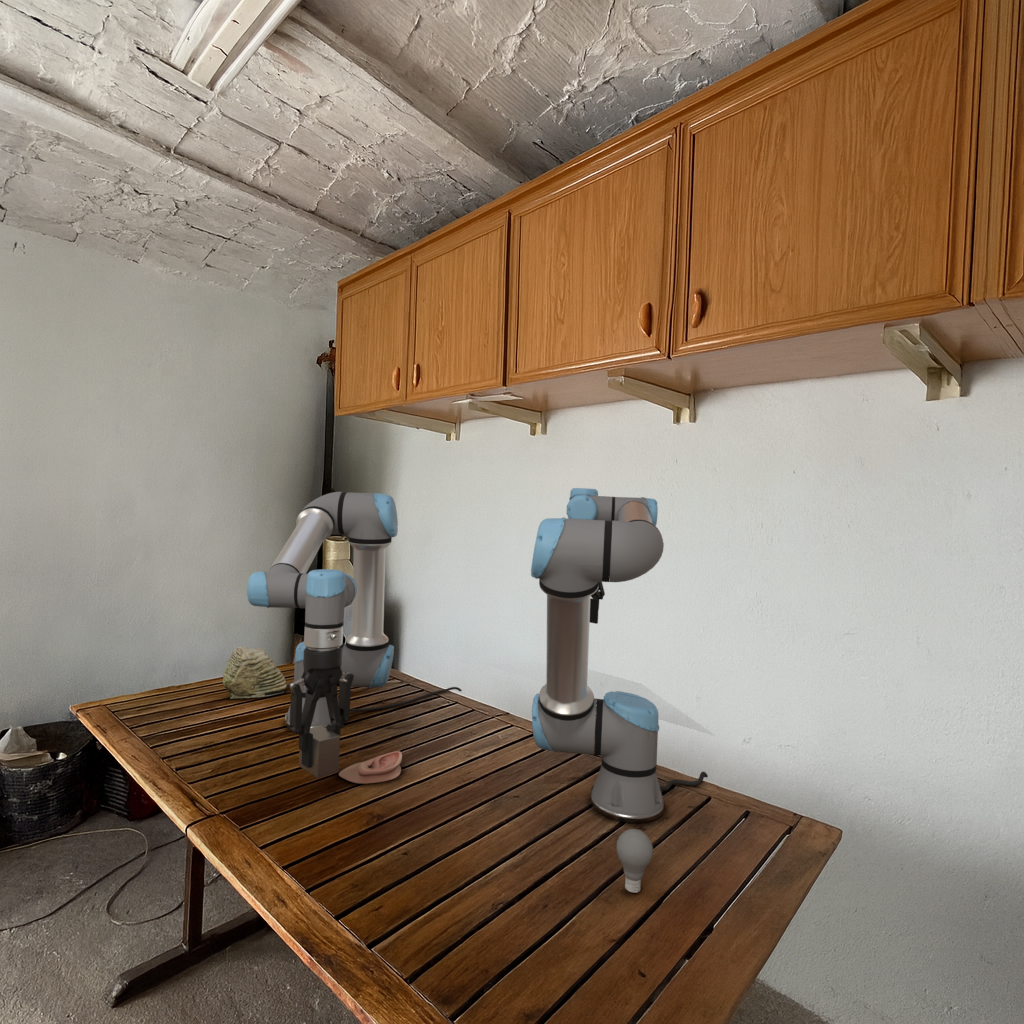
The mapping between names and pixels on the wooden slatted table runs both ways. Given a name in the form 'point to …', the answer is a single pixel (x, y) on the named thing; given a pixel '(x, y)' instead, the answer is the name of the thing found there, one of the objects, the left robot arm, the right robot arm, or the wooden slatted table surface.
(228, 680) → the fossil
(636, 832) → the light bulb
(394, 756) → the anatomical model
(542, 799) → the wooden slatted table surface
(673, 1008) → the wooden slatted table surface
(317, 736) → the brick
